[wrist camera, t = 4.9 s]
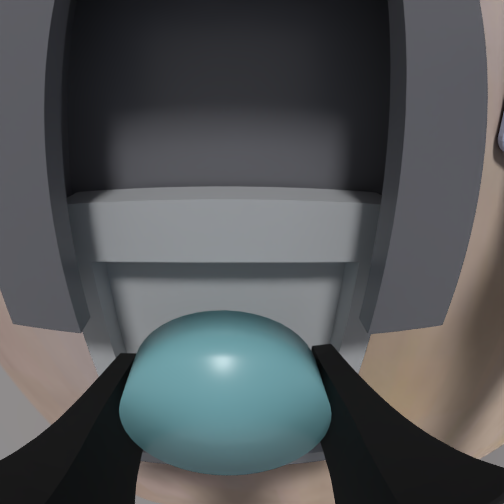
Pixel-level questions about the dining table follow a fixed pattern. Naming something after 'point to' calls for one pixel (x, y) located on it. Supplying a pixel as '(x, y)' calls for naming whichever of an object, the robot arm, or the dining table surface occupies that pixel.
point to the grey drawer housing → (243, 128)
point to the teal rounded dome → (225, 394)
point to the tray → (224, 263)
